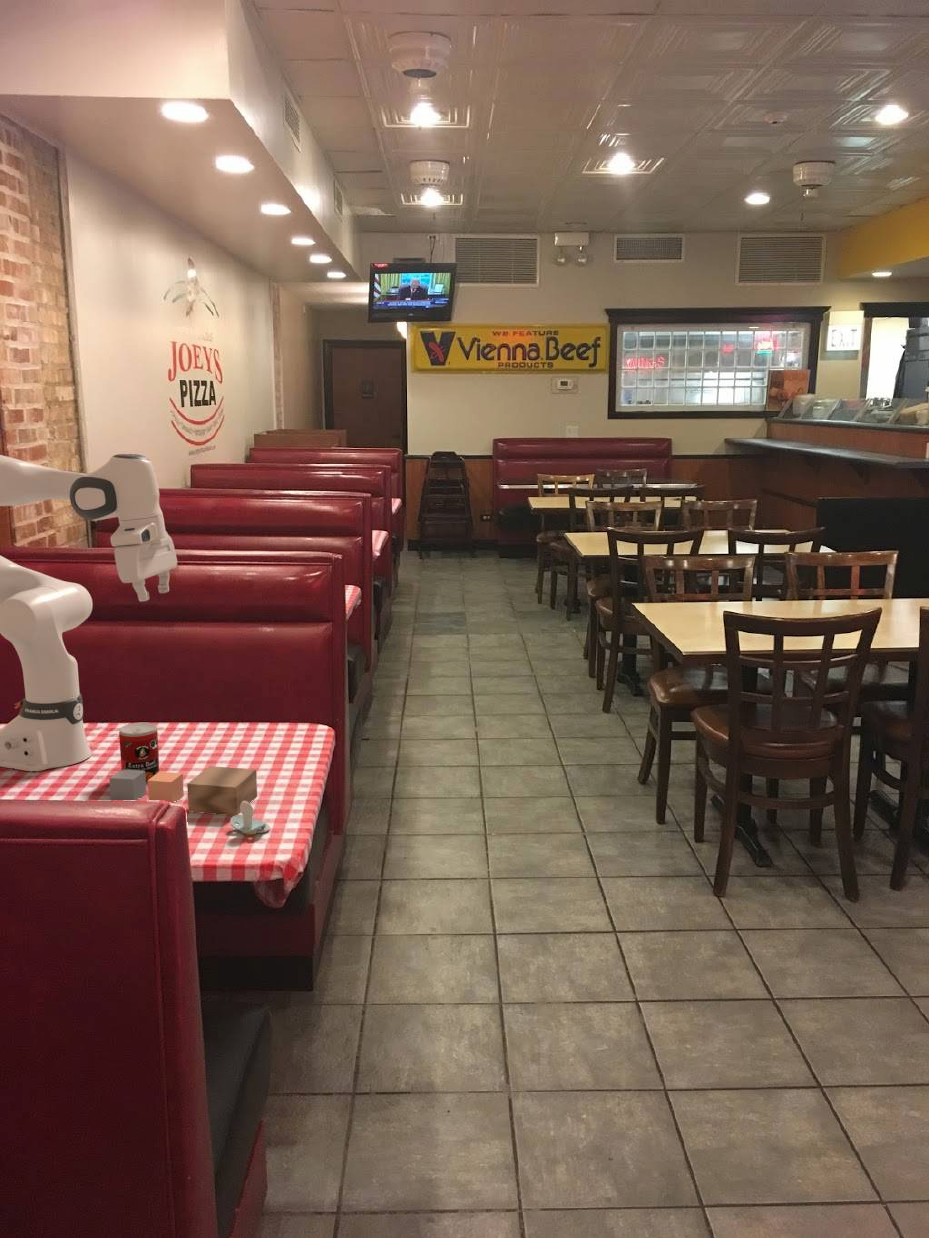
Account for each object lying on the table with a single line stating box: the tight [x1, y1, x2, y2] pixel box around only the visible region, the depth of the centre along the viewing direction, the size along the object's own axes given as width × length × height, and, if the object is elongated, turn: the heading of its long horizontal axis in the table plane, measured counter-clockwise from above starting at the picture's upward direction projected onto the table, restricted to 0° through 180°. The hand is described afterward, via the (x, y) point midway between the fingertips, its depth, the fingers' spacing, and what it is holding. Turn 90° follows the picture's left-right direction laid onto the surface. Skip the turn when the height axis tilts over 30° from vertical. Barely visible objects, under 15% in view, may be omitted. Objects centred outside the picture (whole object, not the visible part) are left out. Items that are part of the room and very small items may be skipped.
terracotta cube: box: [147, 771, 185, 804], centre depth 189 cm, size 5×5×5 cm
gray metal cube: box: [109, 769, 148, 801], centre depth 190 cm, size 5×5×5 cm
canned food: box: [118, 721, 160, 783], centre depth 201 cm, size 8×8×11 cm
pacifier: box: [230, 801, 271, 835], centre depth 176 cm, size 7×6×6 cm
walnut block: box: [186, 765, 258, 816], centre depth 188 cm, size 10×10×6 cm
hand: (154, 596), depth 201 cm, fingers open, 8 cm apart
